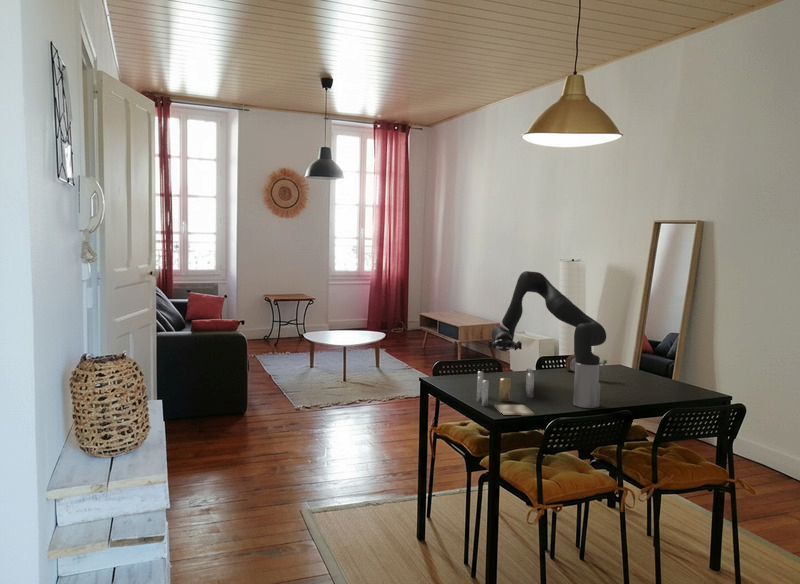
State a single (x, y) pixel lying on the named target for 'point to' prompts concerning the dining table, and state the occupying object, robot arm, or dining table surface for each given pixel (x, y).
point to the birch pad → (513, 410)
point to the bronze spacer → (504, 389)
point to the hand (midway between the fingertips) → (505, 347)
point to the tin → (570, 363)
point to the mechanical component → (603, 364)
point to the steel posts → (484, 386)
